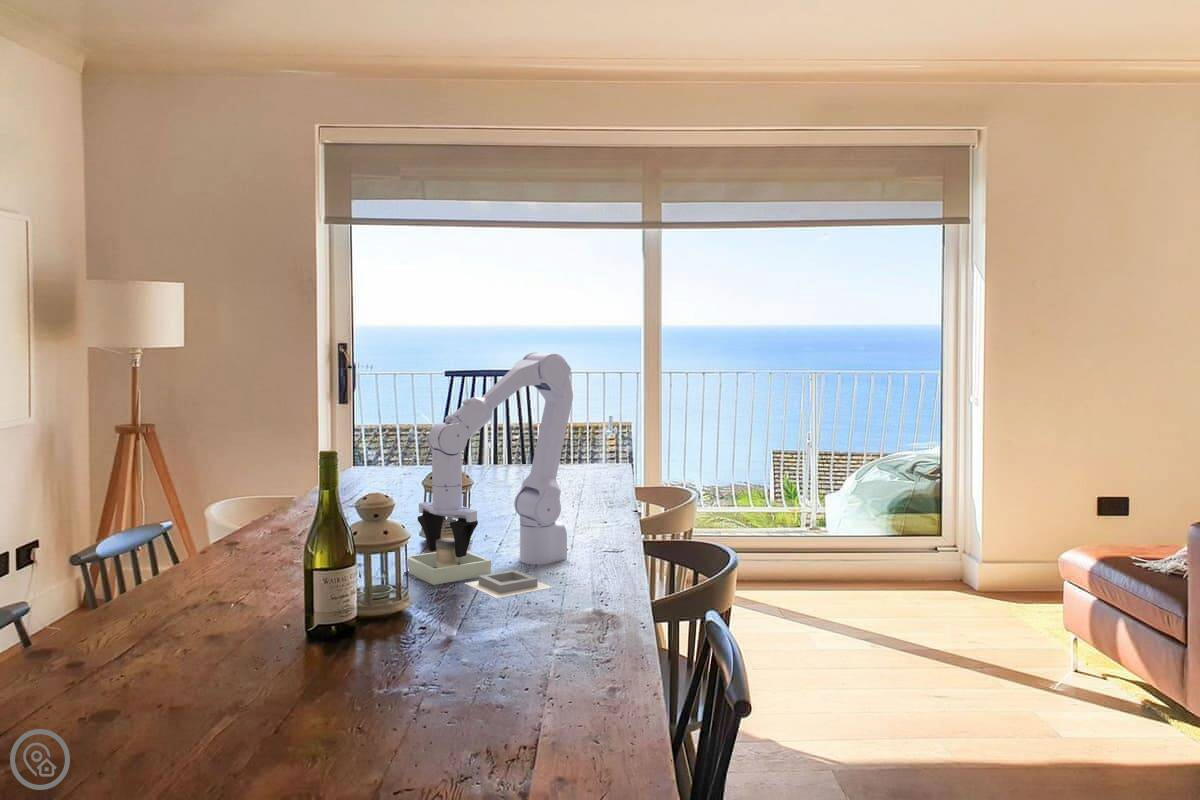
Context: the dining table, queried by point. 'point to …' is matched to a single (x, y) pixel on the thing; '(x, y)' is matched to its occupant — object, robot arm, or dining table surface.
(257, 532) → the dining table surface
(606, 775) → the dining table surface
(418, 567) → the bin
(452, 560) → the strut
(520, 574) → the square socket plate
